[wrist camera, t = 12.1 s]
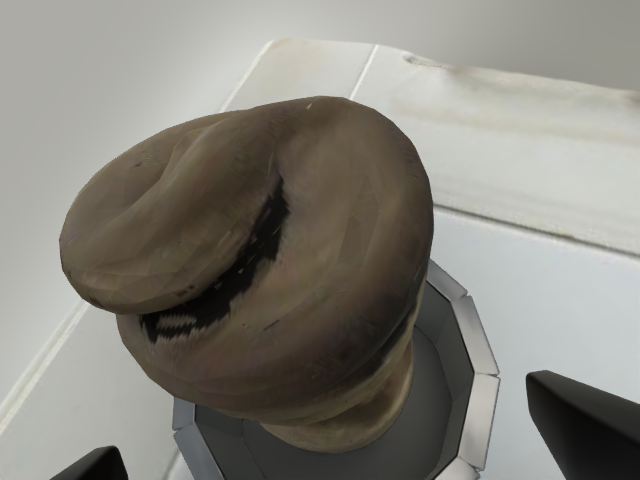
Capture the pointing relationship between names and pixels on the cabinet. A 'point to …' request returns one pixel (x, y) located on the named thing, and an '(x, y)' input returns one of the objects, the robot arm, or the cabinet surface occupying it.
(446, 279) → the faceted gray ring
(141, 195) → the light bulb
